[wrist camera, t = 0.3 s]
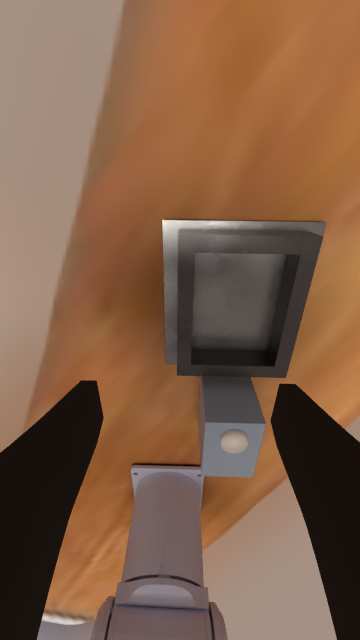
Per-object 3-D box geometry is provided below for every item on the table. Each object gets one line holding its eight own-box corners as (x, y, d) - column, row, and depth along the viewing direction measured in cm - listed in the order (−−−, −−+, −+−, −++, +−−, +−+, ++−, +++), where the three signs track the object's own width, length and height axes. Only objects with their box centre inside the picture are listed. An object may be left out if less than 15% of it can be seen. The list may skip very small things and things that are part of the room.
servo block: (239, 419, 25) (254, 484, 19) (198, 418, 25) (201, 482, 19) (248, 370, 22) (268, 430, 16) (201, 369, 22) (206, 428, 16)
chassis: (286, 362, 21) (297, 383, 19) (165, 360, 21) (163, 380, 19) (322, 221, 16) (344, 227, 14) (163, 219, 16) (159, 224, 14)
